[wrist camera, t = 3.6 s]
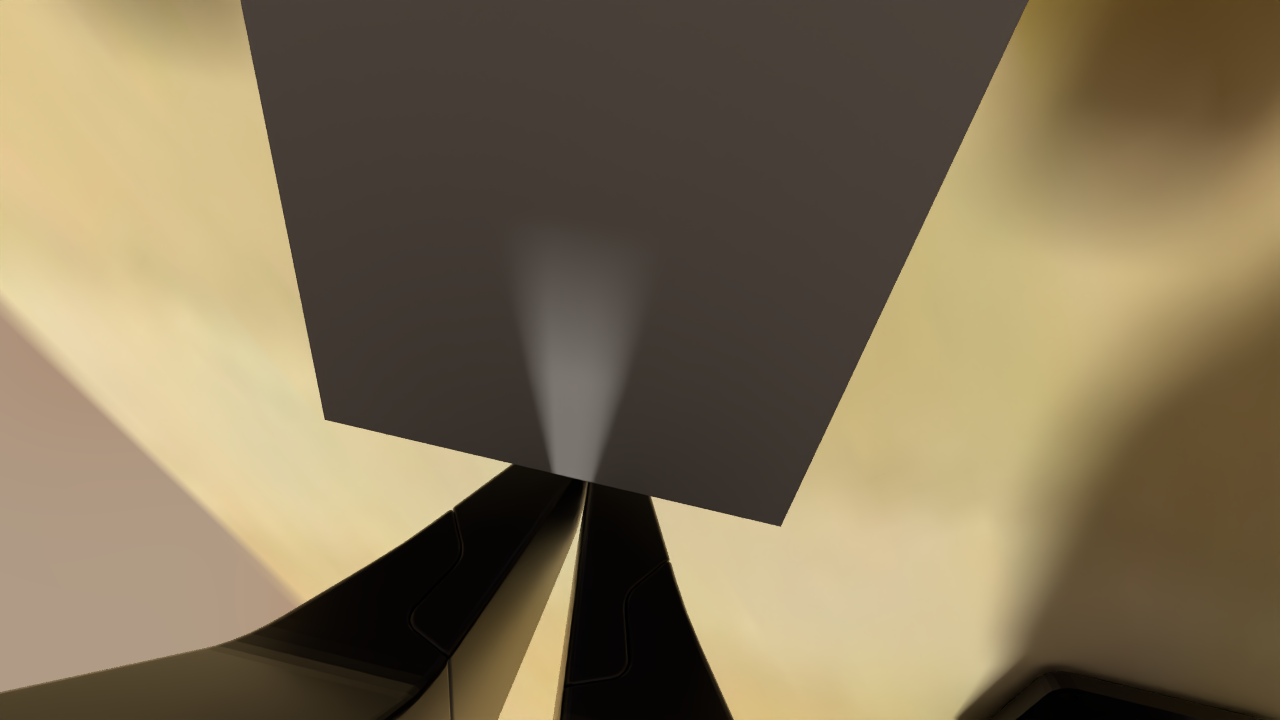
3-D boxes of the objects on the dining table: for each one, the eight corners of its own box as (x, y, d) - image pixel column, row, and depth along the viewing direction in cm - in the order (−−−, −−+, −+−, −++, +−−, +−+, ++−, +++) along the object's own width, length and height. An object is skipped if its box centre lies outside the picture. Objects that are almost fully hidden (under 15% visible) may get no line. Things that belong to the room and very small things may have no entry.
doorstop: (886, -11, 7) (1079, -107, 3) (759, 355, 10) (780, 525, 6) (469, -91, 7) (185, -271, 3) (471, 291, 10) (324, 420, 6)
